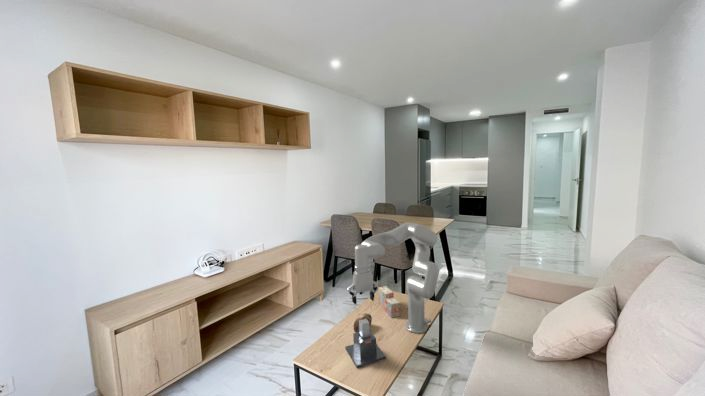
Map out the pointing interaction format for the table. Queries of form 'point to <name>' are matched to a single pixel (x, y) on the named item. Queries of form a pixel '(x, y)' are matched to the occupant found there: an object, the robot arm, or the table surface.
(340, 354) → the table surface
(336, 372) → the table surface
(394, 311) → the stack of blocks
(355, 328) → the tin
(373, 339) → the jack base
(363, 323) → the bar
